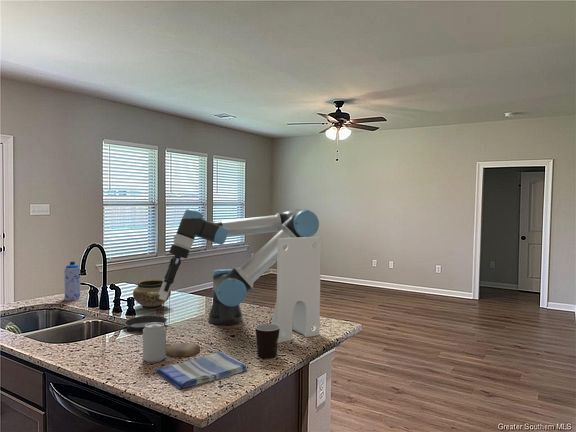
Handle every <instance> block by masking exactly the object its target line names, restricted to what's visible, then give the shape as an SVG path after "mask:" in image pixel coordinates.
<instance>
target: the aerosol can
mask: <svg viewBox="0 0 576 432" xmlns="http://www.w3.org/2000/svg"><path fill="white" fill-rule="evenodd" d="M75 262H76V261H70V262H69V264H68V265H66V266H65V267H64V301H71V302H72V301H78V300H81V299H82V298H81V267H80V265H78V264H77V263H75ZM79 273H80V275H79Z"/></svg>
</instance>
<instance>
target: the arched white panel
mask: <svg viewBox="0 0 576 432" xmlns="http://www.w3.org/2000/svg"><path fill="white" fill-rule="evenodd" d="M314 243H315V247H313V245H314ZM284 244H287V248H286V250H283V245H284ZM321 258H322V236H311V237H297V238H278V245H277V261H276V262H277V263H276V265H277V266H276V267H277V268H276V299H275V300H276V301H275V305H274V309H273V312H272V318H271V323H270V324H275V325H278V326H280V330H279V338H278V344H279V343H283V342H288V341H293V331H295V332H297V333H300V334H301V335H304V337H305V338H309V337H314V336H319V335H320V323H321V321H320V319H321V318H320V316H321V315H320V314H321V270H322V269H321V268H322V267H321V266H322V263H321V262H322V259H321ZM313 325H314V328H313V329H311V328H312V326H313Z"/></svg>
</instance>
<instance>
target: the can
mask: <svg viewBox="0 0 576 432" xmlns="http://www.w3.org/2000/svg"><path fill="white" fill-rule="evenodd" d="M166 348H167V327H166V326H165V324H163V323H161V322H152V323H148V324H146V325H145V328H144V329H143V332H142V360H144V361H145V362H147V363H151V364H152V363H159V362H162V361H163V360H164V359H165V358H166V357H167V354H166Z"/></svg>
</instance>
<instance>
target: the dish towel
mask: <svg viewBox="0 0 576 432" xmlns="http://www.w3.org/2000/svg"><path fill="white" fill-rule="evenodd" d="M247 366H248V365H247V364H246V363H243V362H242V361H240V360H238V359H236V358H234V357H232V356H230V355H228V354H227V353H226V352H223V351H216V352H213V353H211V354H209V355H206V356H202V357H197V358H194V359H190V360H186V361H183V362H180V363H176V364H174V365H169V366H164V367H159V368H157V369H155V371H156V372H157V374H158V375H160V376H161V377H162V378H164V379H165V380H166V381H167V382H168V381H169V382H168V383H170V384H171V383H172V384H171V385H173V386H174V387H175V386H176V387H175V388H177V389H178V390H179V391H180V390H182V389H183V388H184V389H187V387H188V388H190V387H195V386H199V385H198V384H200V385H203V384H206V383H209V382H211V381H215V380H219V379H224V378H227V377H229V376H231V377H232V375H235V374H239V373H242V372H245V371H248V368H247ZM208 381H209V382H208ZM194 385H195V386H194ZM184 389H183V390H184Z"/></svg>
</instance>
